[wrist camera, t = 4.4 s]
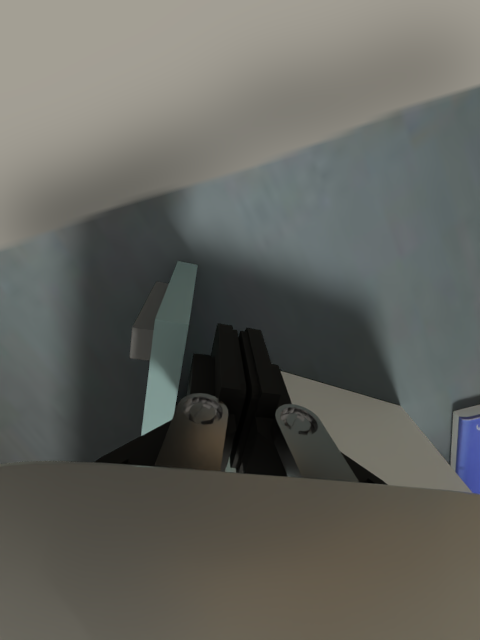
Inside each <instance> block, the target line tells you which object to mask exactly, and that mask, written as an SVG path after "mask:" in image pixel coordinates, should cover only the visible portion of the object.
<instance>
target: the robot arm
mask: <svg viewBox="0 0 480 640" xmlns="http://www.w3.org/2000/svg"><path fill="white" fill-rule="evenodd" d="M229 457H230V467H231V468H236V473H234V472H225V469H226V467H227V464H228V460H229ZM0 640H480V494H477V493H469V492H460V491H452V490H442V489H430V488H418V487H407V486H395V485H388V484H386V483H385V482H384V481H383V480H381V479H380V478H378V477H377V476H375V475H374V474H373V473H371V472H370V471H368V470H367V469H365V468H364V467H362V466H361V465H359V464H358V463H357V462H355V461H354V460H352V459H351V458H349V457H348V456H346V455H345V454H343V453H342V452H340V451H339V449H338V447H337V446H336V444H335V443H334V441H333V439H332V438H331V436H330V435H329V433H328V431H327V430H326V428H325V427H324V425H323V423H322V422H321V420H320V419H319V418H318V417H317V415H315V414H314V413H313V412H312V411H310V410H308V409H307V408H305V407H302V406H299V405H295V404H292V403H291V400H290V397H289V394H288V391H287V388H286V385H285V383H284V380H283V377H282V374H281V371H280V368H279V366H278V365H274V364H271V361H270V358H269V355H268V351H267V348H266V345H265V342H264V339H263V336H262V333H261V330H257V329H250V328H246V330H245V331H240V333H239V337H238V333H237V330H233V328H232V326H231V325H225V324H218V325H217V328H216V333H215V338H214V343H213V348H212V353H211V356H209V355H202V354H195V353H194V354H193V359H192V365H191V370H190V376H189V383H188V390H187V396H185V397H184V398H183V399H181V400H180V402H179V403H178V405H177V408H176V410H175V413H174V416H173V418H172V420H170V421H168V422H167V423H165V424H163V425H161V426H159V427H157V428H155V429H153V430H152V431H150V432H148V433H146V434H144V435H142V436H140V437H139V438H137V439H135V440H133V441H131V442H129V443H127V444H125V445H124V446H122V447H120V448H118V449H116V450H114V451H112V452H111V453H109V454H107V455H105V456H103V457H101V458H100V459H98V460H97V461H95V462H72V461H22V462H13V463H4V464H0Z"/></svg>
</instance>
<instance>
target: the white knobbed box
mask: <svg viewBox="0 0 480 640" xmlns="http://www.w3.org/2000/svg"><path fill="white" fill-rule="evenodd" d="M281 374H282V377H283V380H284V383H285V385H286V388H287V391H288V394H289V397H290V400H291V403H292V404H295V405H299V406H302V407H305V408H307V409H308V410H310V411H312V412H313V413H314V414H315V415H317V417H318V418H319V419H320V420H321V422H322V423H323V425H324V427H325V428H326V430H327V431H328V433H329V435H330V436H331V438H332V439H333V441H334V443H335V444H336V446H337V447H338V449H339V451H340V452H342V453H343V454H345V455H346V456H348V457H349V458H351V459H352V460H354V461H355V462H357V463H358V464H359V465H361V466H362V467H364V468H365V469H367V470H368V471H370V472H371V473H373V474H374V475H375V476H377V477H378V478H380V479H381V480H383V481H384V482H385V483H386V484H388V485H395V486H407V487H418V488H430V489H442V490H452V491H460V492H469V493H472V492H471V490H470V489H469V488H468V487H467V485H466V484H465V483H464V482H463V481H462V479H461V478H460V477H459V476H458V475H457V473H456V472H455V471H454V470H453V469H452V467H451V466H450V465H449V464H448V462H447V461H446V460H445V459H444V458H443V456H442V455H441V454H440V453H439V452H438V450H437V449H436V448H435V447H434V446H433V444H432V443H431V442H430V441H429V440H428V438H427V437H426V436H425V435H424V433H423V432H422V431H421V430H420V429H419V427H418V426H417V425H416V424H415V423H414V421H413V420H412V419H411V418H410V417H409V415H408V414H407V413H406V412H405V410H404V409H403V408H402V407H401V406H399V405H395V404H392V403H389V402H385V401H382V400H378V399H375V398H372V397H368V396H365V395H361V394H358V393H355V392H351V391H348V390H344V389H341V388H338V387H334V386H331V385H327V384H324V383H321V382H317V381H314V380H310V379H307V378H303V377H300V376H297V375H293V374H290V373H286V372H283V371H281ZM225 472H234V473H236V468H231V467H230V457H229V460H228V464H227V467H226V469H225Z"/></svg>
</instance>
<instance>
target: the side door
mask: <svg viewBox="0 0 480 640" xmlns="http://www.w3.org/2000/svg"><path fill="white" fill-rule="evenodd" d="M197 267H198V265H196V264H190V263H185V262H180V261H178V262H177V264H176V267H175V269H174V272H173V274H172V277H171V280H170V282H169V284H168V283H162V282H156V283H155V285H154V287H153V288H152V290H151V292H150V294H149V296H148V298H147V300H146V302H145V304H144V306H143V308H142V310H141V312H140V314H139V315H138V317H137V319H136V321H135V323H134V325H133V327H132V336H131V348H130V358H132V359H139V360H147V361H150V365H149V374H148V382H147V390H146V399H145V407H144V415H143V424H142V432H141V436H142V435H144V434H146V433H148V432H150V431H152V430H153V429H155V428H157V427H159V426H161V425H163V424H165V423H167V422H168V421H170V420H172V418H173V416H174V411H175V405H176V399H177V393H178V387H179V381H180V375H181V369H182V363H183V357H184V351H185V345H186V339H187V333H188V327H189V321H190V314H191V307H192V301H193V294H194V287H195V280H196V273H197Z"/></svg>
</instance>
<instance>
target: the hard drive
mask: <svg viewBox="0 0 480 640" xmlns="http://www.w3.org/2000/svg"><path fill="white" fill-rule="evenodd" d="M450 466H451V467H452V469H453V470H454V471H455V472H456V473H457V475H458V476H459V477H460V478H461V479H462V481H463V482H464V483H465V484H466V485H467V487H468V488H469V489H470V490H471V492H472V493H477V494H480V405H476V406H472V407H468V408H464V409H460V410H456V411H453V426H452V445H451V464H450Z"/></svg>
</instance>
